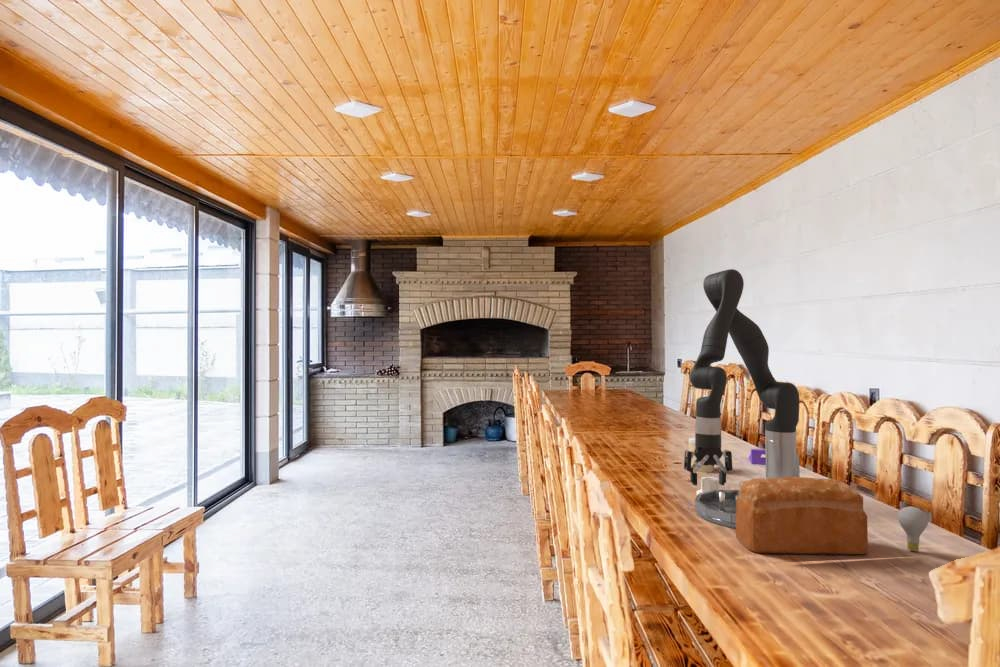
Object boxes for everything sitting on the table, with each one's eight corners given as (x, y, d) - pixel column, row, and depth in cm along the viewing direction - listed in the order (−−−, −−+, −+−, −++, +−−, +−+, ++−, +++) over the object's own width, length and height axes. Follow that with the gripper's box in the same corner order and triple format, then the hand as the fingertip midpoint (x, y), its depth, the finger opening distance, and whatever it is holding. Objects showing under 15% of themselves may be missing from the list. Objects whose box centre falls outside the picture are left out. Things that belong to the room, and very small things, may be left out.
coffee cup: (719, 474, 203) (719, 441, 203) (693, 475, 203) (693, 441, 203) (710, 469, 212) (710, 436, 212) (685, 469, 212) (684, 436, 212)
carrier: (768, 500, 171) (768, 476, 171) (828, 530, 144) (827, 502, 144) (680, 503, 168) (680, 479, 168) (724, 534, 141) (724, 505, 141)
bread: (731, 534, 141) (730, 471, 141) (841, 536, 139) (840, 472, 140) (752, 556, 127) (751, 485, 127) (874, 558, 126) (873, 486, 126)
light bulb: (929, 557, 125) (928, 511, 125) (899, 552, 128) (898, 508, 128) (927, 549, 130) (926, 505, 130) (897, 545, 133) (897, 502, 133)
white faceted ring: (716, 493, 179) (715, 475, 179) (727, 499, 171) (726, 481, 171) (693, 494, 178) (693, 476, 178) (703, 500, 171) (703, 482, 171)
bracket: (771, 469, 212) (771, 450, 213) (751, 468, 215) (751, 449, 215) (767, 462, 224) (767, 445, 224) (748, 461, 226) (748, 444, 226)
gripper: (724, 429, 179) (724, 481, 179) (680, 429, 178) (680, 482, 178) (736, 433, 172) (736, 487, 172) (690, 433, 171) (690, 488, 171)
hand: (708, 484), depth 175 cm, fingers open, 8 cm apart
